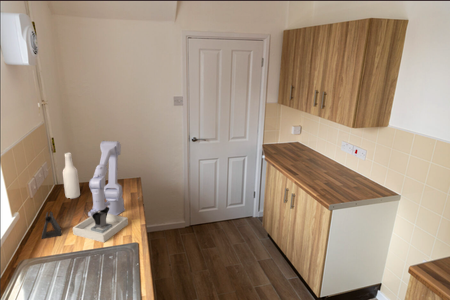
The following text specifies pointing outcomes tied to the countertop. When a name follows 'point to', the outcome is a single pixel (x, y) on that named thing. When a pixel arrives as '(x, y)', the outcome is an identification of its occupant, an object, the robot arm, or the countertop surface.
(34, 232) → the countertop surface
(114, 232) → the box
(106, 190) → the robot arm
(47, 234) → the phone stand
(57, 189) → the countertop surface
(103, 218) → the grey rectangular block
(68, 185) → the alcohol
